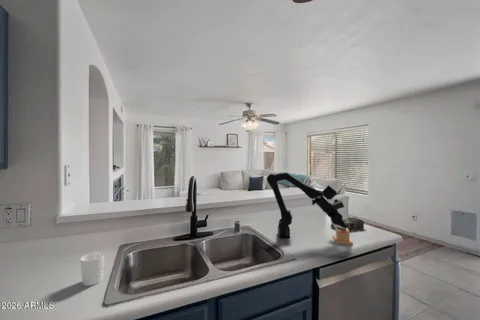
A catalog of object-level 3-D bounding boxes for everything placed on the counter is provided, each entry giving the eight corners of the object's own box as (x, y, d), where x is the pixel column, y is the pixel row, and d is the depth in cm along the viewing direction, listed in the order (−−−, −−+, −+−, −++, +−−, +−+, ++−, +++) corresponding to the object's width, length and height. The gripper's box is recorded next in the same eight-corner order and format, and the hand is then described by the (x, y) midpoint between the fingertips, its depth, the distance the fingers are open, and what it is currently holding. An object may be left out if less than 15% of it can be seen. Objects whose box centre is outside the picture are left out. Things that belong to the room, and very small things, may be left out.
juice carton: (339, 232, 143) (339, 223, 143) (329, 227, 152) (329, 218, 152) (364, 229, 148) (364, 220, 148) (353, 225, 158) (353, 216, 158)
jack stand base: (335, 243, 125) (335, 231, 125) (332, 237, 134) (332, 226, 133) (352, 244, 123) (353, 232, 123) (348, 238, 131) (349, 227, 131)
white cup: (108, 275, 92) (108, 251, 91) (97, 287, 84) (96, 261, 83) (89, 275, 91) (88, 252, 91) (75, 287, 83) (75, 261, 83)
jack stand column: (340, 239, 127) (340, 219, 127) (338, 237, 130) (339, 217, 130) (345, 239, 126) (346, 219, 126) (344, 237, 129) (344, 218, 129)
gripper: (338, 199, 119) (360, 220, 117) (332, 193, 137) (351, 211, 135) (322, 212, 121) (344, 234, 119) (318, 205, 139) (337, 223, 137)
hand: (344, 225), depth 128 cm, fingers open, 9 cm apart
